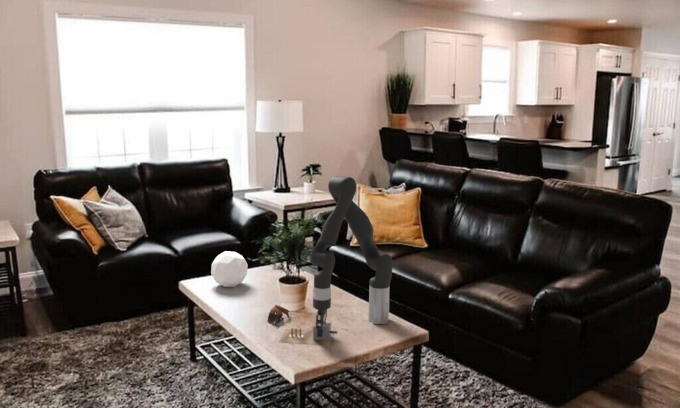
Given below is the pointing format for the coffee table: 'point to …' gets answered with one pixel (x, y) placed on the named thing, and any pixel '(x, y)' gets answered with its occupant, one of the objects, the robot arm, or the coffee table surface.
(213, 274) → the geometric orb
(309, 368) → the coffee table surface
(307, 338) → the header board
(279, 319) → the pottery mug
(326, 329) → the plug housing
